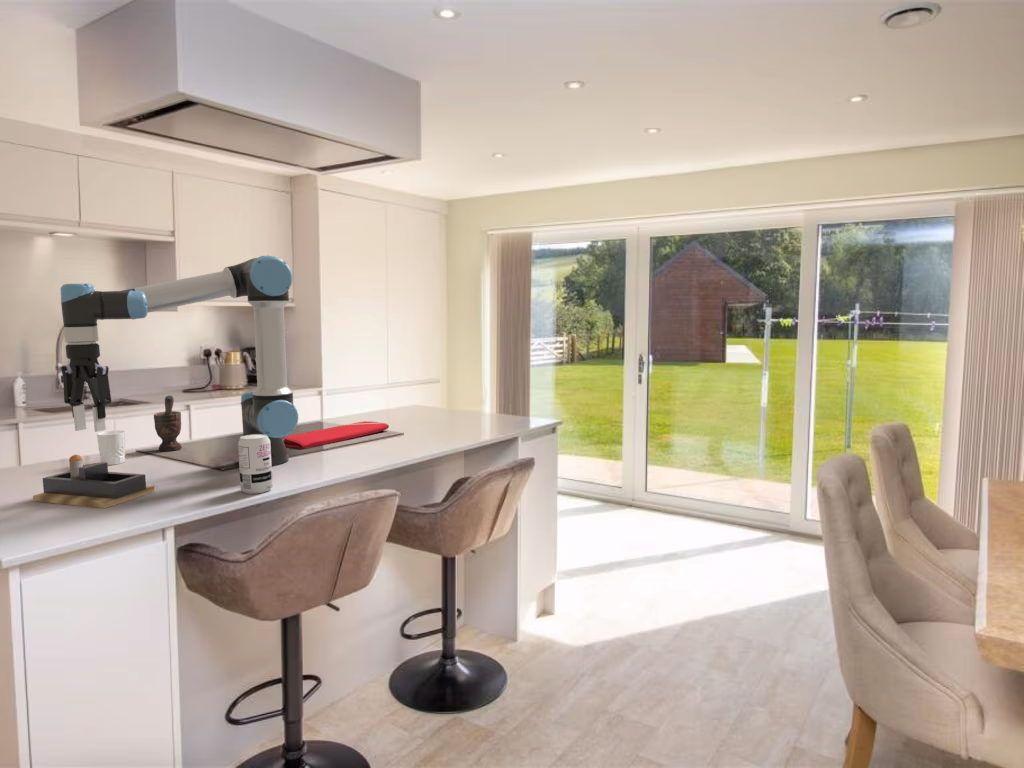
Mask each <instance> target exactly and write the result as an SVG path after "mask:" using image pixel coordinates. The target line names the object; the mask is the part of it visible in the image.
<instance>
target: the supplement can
mask: <svg viewBox="0 0 1024 768" xmlns="http://www.w3.org/2000/svg"><path fill="white" fill-rule="evenodd" d="M237 448H238V449H237V451H238V466H239V467H238V468H239V482H240V483H239V484H240V490H241V492H243V493H244V494H246V495H247V494H249V495H255V494H256V495H257V494H262V493H266V492H267V493H268V491H271V489H272V488H273V486H274V485H273V468H272V466H273V465H271V446H270V440H269V438H268V436H267V435H265V434H252V435H245V436H243V435H242V436H240V437H239V441H238V442H237Z"/></svg>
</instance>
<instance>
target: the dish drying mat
mask: <svg viewBox="0 0 1024 768" xmlns="http://www.w3.org/2000/svg"><path fill="white" fill-rule="evenodd" d="M389 427H390V425H389V424H388V423H385V422H378V421H359V422H358V421H357V422H354V423H349V424H348V423H347V424H343V425H337V426H332V427H328V428H323V429H319V430H313V431H307V432H303V433H298V434H291V435H287V436H284V439H283V441H284V444H285V447H287V448H294V449H299V450H304V449H310V448H314V447H315V448H316V447H320V446H323V445H329V444H334V443H338V442H342V441H346V440H352V439H354V438H359V437H362V436H368V435H371V434H377V433H379V432H382V431H385V430H388V428H389Z"/></svg>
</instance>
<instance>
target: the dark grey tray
mask: <svg viewBox="0 0 1024 768" xmlns="http://www.w3.org/2000/svg"><path fill="white" fill-rule="evenodd" d="M108 468H109V465H107V463H106V462H101V461H100V462H97V463H93V464H89V465H86V466H83V467H81V468H79V476H80V479H71V475H70V470H68V471H65V472H62V473H61V472H60V473H57V474H54V475H50V476H49V475H48V476H45V477H42V487H43V493H51V494H63V495H74V496H86V497H97V498H109V499H117V498H120V497H123V496H126V495H129V494H132V493H135V492H139V491H142V490H145V489H146V485H147V482H146V474H144V473H133V472H132V473H131V472H130V473H129V472H119V471H118V472H117V471H109V469H108Z"/></svg>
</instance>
